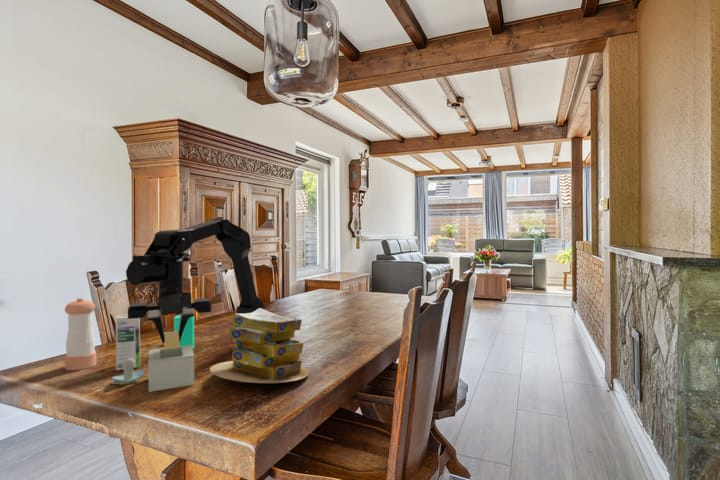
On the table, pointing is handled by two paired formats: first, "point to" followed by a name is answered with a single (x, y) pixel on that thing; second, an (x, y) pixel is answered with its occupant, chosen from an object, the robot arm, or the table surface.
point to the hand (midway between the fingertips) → (171, 341)
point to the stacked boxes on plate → (263, 349)
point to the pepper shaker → (80, 336)
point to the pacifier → (128, 373)
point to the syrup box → (127, 340)
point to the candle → (185, 331)
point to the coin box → (171, 368)
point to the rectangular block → (171, 340)
